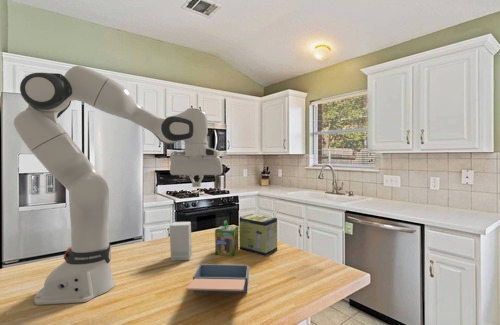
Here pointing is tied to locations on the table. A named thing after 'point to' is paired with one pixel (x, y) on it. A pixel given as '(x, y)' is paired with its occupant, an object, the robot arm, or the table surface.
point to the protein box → (258, 234)
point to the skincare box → (180, 241)
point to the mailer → (222, 275)
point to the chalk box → (226, 240)
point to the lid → (217, 284)
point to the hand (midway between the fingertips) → (196, 186)
